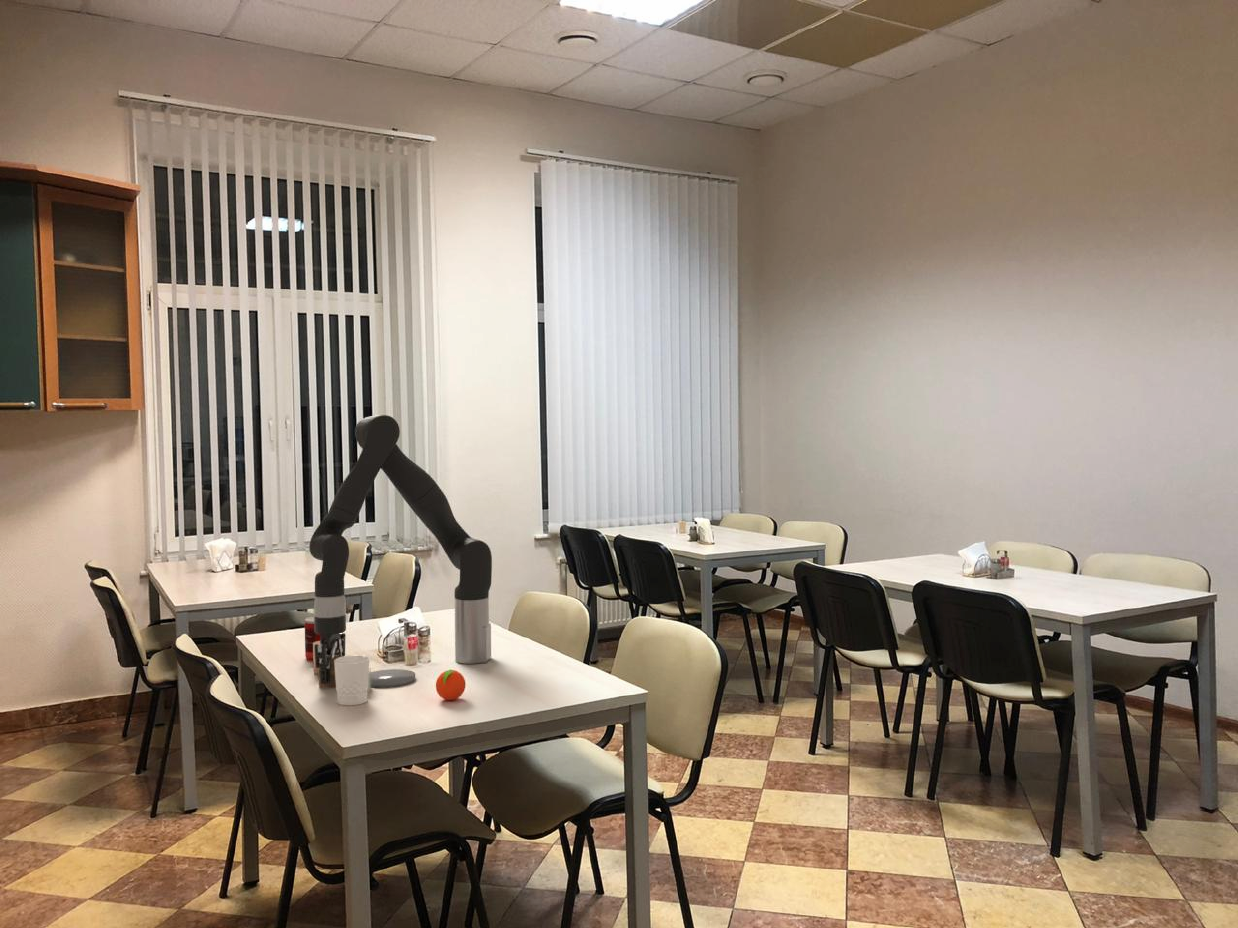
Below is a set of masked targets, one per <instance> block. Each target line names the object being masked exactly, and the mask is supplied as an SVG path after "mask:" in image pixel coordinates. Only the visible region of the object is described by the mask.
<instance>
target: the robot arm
mask: <svg viewBox="0 0 1238 928" xmlns="http://www.w3.org/2000/svg"><path fill="white" fill-rule="evenodd" d="M400 434H401V429H400V426H399V424H398V422H397V420H396V419H395V418H394V417H393V416H390V415H388V414H376V415H371V416H366V417H364V418H362V419H360V420H359V421H358V422H357V423H356V426H355V429H354V437H355V441H356V442H357V445H359V447H360V448H361V453H360V454H359V457H358V459H357V460H356V462H355V465H354V466H353V467H352V469H351V470H350V472H349V473H348V475H347V476H346V477H345V478H344V480H343V482H342V483H341V484H340V486H339V488H338V490H337V492H336V494H335V495H334V498H333V501H332V503H331V504H330V507H329V509H328V512H327V514H326V515H325V517H324V518H323V519H322V520H321V522H320V523H319V524H318V526H317V527H316V529H315V530H314V532H313V534H312V535H311V538H310V541H309V548H308V549H309V553H310V555H311V556H312V557H313V558H314V559H316V560H318V561H322V566H321V571H319V572H317V573H316V575H315V577H314V603H313V617H314V631H315V633H316V634H319V635H321V641H320V644H315V662H316V668H319V669H320V680H321V684H329V683H330V665H331V660H333V659H334V655H343V656H346V637H347V636H346V630H347V614H346V613H347V611H346V610H347V609H346V607H347V605H346V603H347V602H346V597H345V577H346V576H345V575H346V573H347V572H346V571H347V567H348V562H349V556H350V547H349V543H348V541H347V539H346V537H344V536H343V534H344V532H345V531H346V530H347V529H351V528H352V527H353V526H354V525H355V523H356V522H357V519H358V517H359V514H360V512H361V509H362V508H363V505H364V503H365V502H366V501H365V500H366V499H367V496H368V494H369V491H370V489H371V488H372V485H373V483H374V481H375V480H376V478H377V476H378V475H379V472H380V471H381V470H382V471H383V472H384V474H385V475H386V476H387V478H388V479H389V481H390V482H391V483H392V485H393V487H395V489H396V490H397V492H398V493H399V494H400V496H401V497H402V498H403V500H404V501H405V502H406V504H407V505H408V506H409V507H410V509H411V510H412V511H413V513H414V514H415V515H416V516H417V517H418V519H419V520H420V521H421V523H423V524H424V525H425V527H426V528H427V529H428V530H429V532H431V533H432V535H433V536H434V537H435V539H437V541H438V543H439V544H440V546H441V547H442V548H441V549H443V551H444V553H445V554H446V555H447V558H449V561H450V563H451V564H452V565H453V566H454V567H455V568H456V569H458V570H459V583H458V584H457V586H456V587H455V588H454V641H455V642H454V656H455V657H454V658H455V659H454V660H455V662H456V663H458V664H467V665H468V664H471V665H472V664H473V665H475V664H481V663H488V662H489V660H490V659H491V658H492V625H491V623H490V612H489V610H490V609H489V608H490V606H489V605H490V601H489V599H490V598H489V597H490V596H489V595H490V589H491V586H492V577H493V576H492V572H493V571H492V569H493V558H492V551H491V548H490V547H489V545H488V544H487V543H486V542H485V541H483V540H480V539H475V538H474V537H471V536H470V535H469V534H468V532H466V531H465V529H464V528H463V527H462V526H461V525H460V524H459V522H458V521H457V519H456V518H455V516H454V513H453V509H452V508H451V506H450V502H449V501H448V498H447V496H446V494H445V493H444V491H443V490H442V489H441V487H440V486H439V484H437V482H436V481H435V480H434V478H433V477H432V476H431V475H430V474H429V473H427V472H426V470H424V469H423V468H422V467H420V465H418V464H416V463H415V462H414V461H413V460H411V459H410V458H409V457H408V456H407V455H405V453H404V452H403V450H401V448H400V447H399V446H398V445H397V443H398V440H399V438H400ZM327 655H329V656H327ZM319 659H320V662H319ZM327 660H328V661H327Z"/></svg>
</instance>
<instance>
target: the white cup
mask: <svg viewBox="0 0 1238 928" xmlns="http://www.w3.org/2000/svg"><path fill="white" fill-rule="evenodd" d="M334 665H335V681H336V688H335V690H336V697H337V698H336V699H337V704H338V705H340V706H357V705H362V704H365V703H366V702H367V701H368V696H369V694H368V683H369V668H370V657H369V656H367V655H363V654H362V655H360V654H359V655H358V654H356V655H355V654H353V655H345V656H343V657H339V658H337V659H335V660H334Z"/></svg>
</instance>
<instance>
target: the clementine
mask: <svg viewBox="0 0 1238 928" xmlns="http://www.w3.org/2000/svg"><path fill="white" fill-rule="evenodd" d="M465 689H466V680H465V677H464V676H463V675H462V673H461V672H459V671H457V670H455V669H447V670H445V671H443V672H442V673H440V674H439V676H438V677H437V678H436V681H435V691H436V693H437V695H439V697H440V698H441V699H444V700H446V701H454V700H457V699H459V698H460V697H462V695H463V694H464V693H465Z"/></svg>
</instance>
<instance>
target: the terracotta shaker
mask: <svg viewBox="0 0 1238 928" xmlns="http://www.w3.org/2000/svg"><path fill="white" fill-rule="evenodd" d="M315 644H320V641H316V642H314V643H313V661H312V662H313V666H312V667H313V674H314V676H315V675H316V676H319V668H316V662H315Z"/></svg>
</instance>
